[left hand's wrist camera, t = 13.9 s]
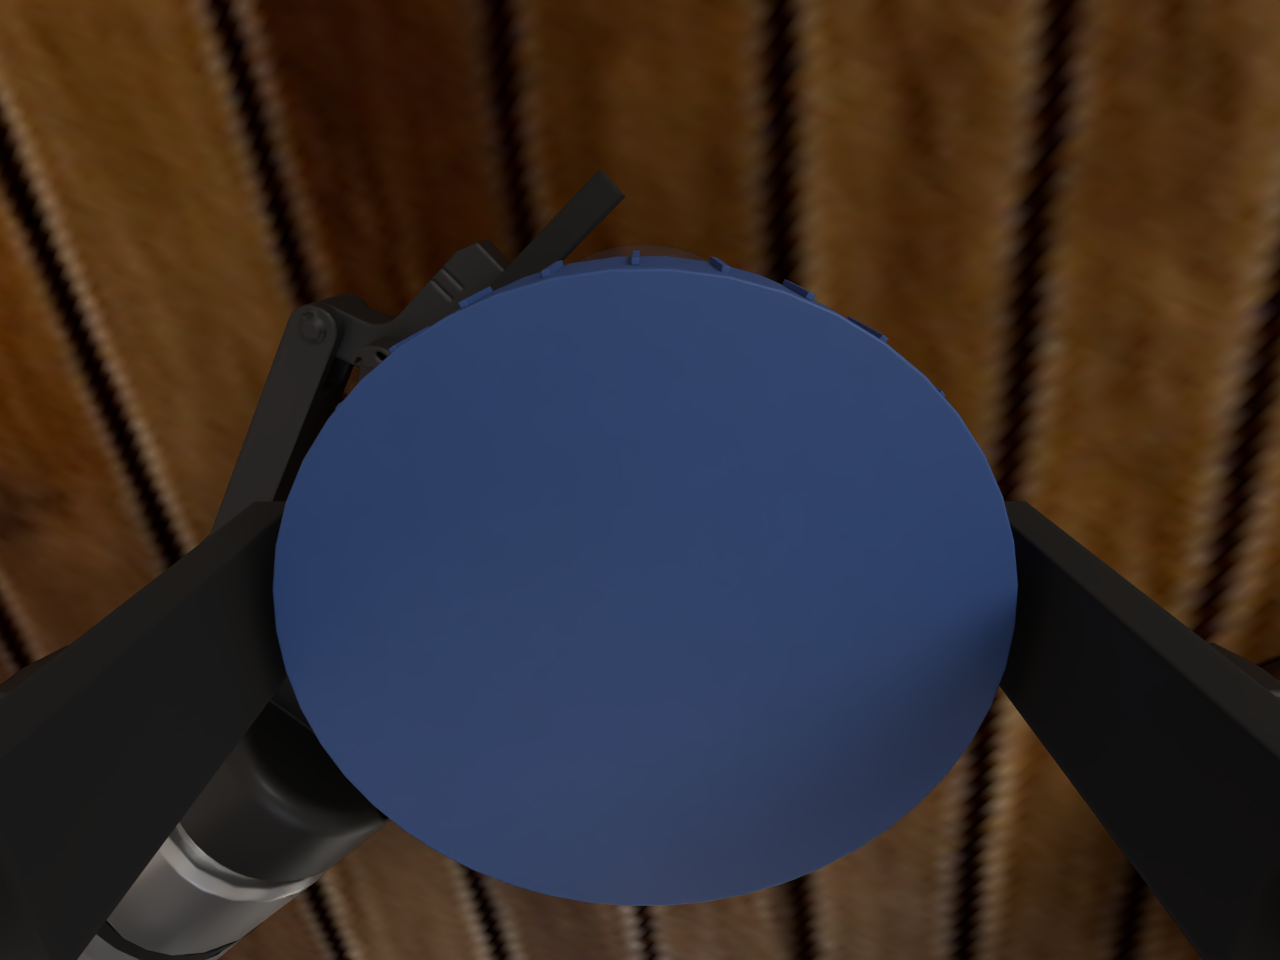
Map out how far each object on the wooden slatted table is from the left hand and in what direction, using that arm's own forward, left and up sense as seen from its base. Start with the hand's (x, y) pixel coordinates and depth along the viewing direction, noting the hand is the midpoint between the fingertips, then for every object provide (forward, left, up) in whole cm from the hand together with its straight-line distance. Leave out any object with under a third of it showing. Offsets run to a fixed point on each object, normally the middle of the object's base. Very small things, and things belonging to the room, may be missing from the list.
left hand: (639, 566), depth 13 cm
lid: (0, 0, +2) cm, 2 cm away
